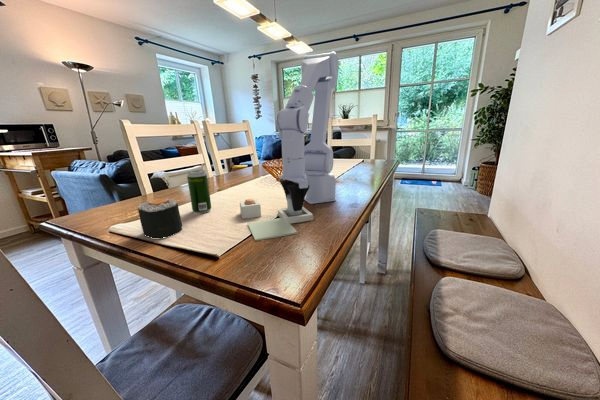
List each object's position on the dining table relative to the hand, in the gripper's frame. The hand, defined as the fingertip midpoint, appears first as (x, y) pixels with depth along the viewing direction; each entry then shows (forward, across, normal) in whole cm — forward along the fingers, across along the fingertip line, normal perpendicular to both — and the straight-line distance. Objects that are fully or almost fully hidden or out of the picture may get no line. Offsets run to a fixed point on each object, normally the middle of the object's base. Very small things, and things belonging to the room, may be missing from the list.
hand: (294, 207), depth 67 cm
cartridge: (+2, 0, 0) cm, 2 cm away
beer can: (+3, -16, -24) cm, 29 cm away
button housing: (+3, -7, -11) cm, 13 cm away
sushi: (+3, -4, -33) cm, 33 cm away
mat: (+3, +5, -8) cm, 10 cm away
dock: (+3, 0, 0) cm, 3 cm away
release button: (+1, -7, -11) cm, 13 cm away
